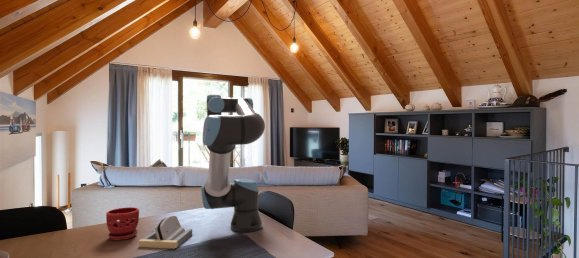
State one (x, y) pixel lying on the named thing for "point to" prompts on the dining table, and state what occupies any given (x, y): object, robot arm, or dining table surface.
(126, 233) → the plant pot
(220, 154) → the robot arm
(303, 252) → the dining table surface
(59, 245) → the dining table surface
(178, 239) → the bracket
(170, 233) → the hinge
